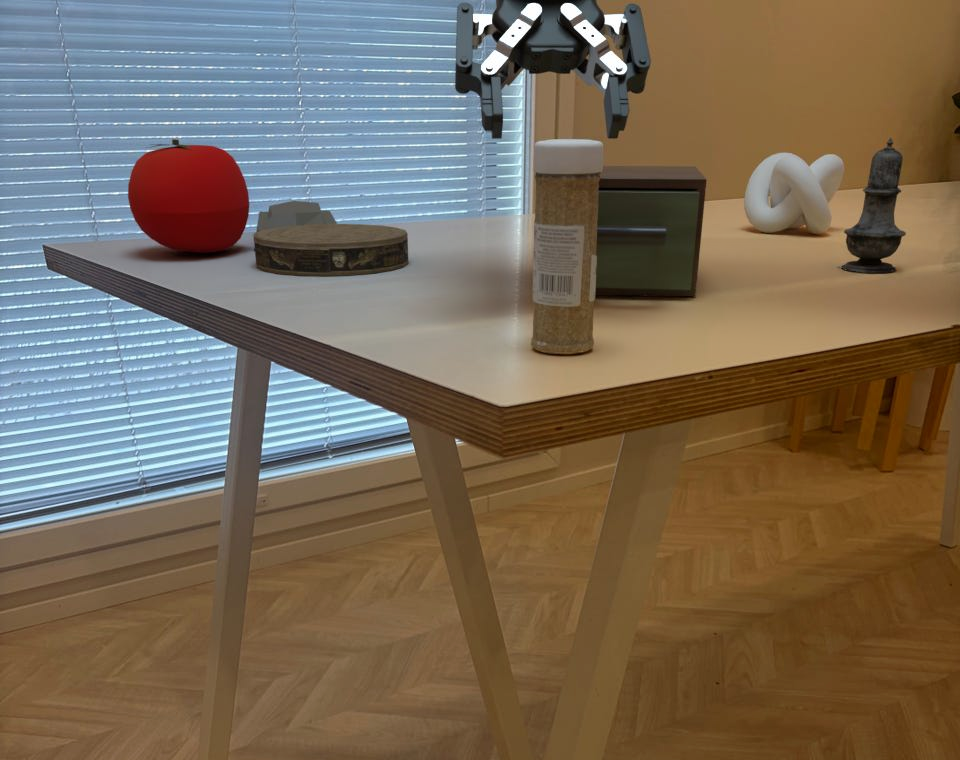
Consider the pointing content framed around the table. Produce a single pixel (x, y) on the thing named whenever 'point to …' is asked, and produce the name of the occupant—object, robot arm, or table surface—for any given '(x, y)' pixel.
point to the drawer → (646, 238)
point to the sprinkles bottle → (565, 244)
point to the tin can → (331, 249)
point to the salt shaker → (877, 216)
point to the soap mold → (293, 215)
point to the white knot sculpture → (793, 193)
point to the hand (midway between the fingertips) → (556, 130)
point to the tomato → (189, 197)
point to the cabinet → (658, 180)
